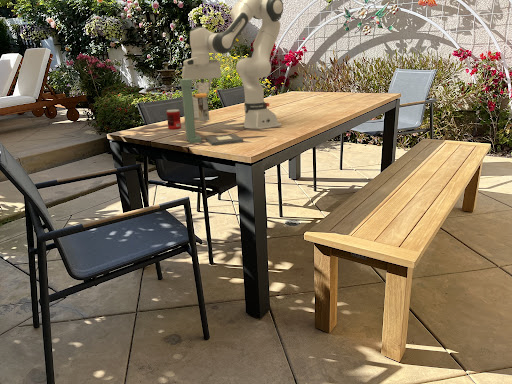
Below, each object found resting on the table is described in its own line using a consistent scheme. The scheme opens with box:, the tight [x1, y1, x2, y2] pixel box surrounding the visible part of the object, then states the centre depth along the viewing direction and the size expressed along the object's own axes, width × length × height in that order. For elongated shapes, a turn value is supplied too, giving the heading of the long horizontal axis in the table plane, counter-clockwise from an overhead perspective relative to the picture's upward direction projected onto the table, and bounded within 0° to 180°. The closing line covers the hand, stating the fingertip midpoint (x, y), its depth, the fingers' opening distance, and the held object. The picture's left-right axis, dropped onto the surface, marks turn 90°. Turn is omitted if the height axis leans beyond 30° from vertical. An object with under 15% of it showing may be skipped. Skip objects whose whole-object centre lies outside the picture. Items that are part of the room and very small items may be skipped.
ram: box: [192, 92, 208, 118], centre depth 207 cm, size 8×6×12 cm
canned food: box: [166, 108, 182, 131], centre depth 246 cm, size 8×8×11 cm
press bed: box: [205, 133, 244, 146], centre depth 208 cm, size 16×14×2 cm
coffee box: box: [192, 95, 210, 122], centre depth 271 cm, size 9×6×16 cm
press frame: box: [179, 78, 202, 144], centre depth 206 cm, size 7×8×31 cm
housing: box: [196, 79, 210, 94], centre depth 215 cm, size 5×5×7 cm
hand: (203, 88), depth 215 cm, fingers closed on housing, 5 cm apart
